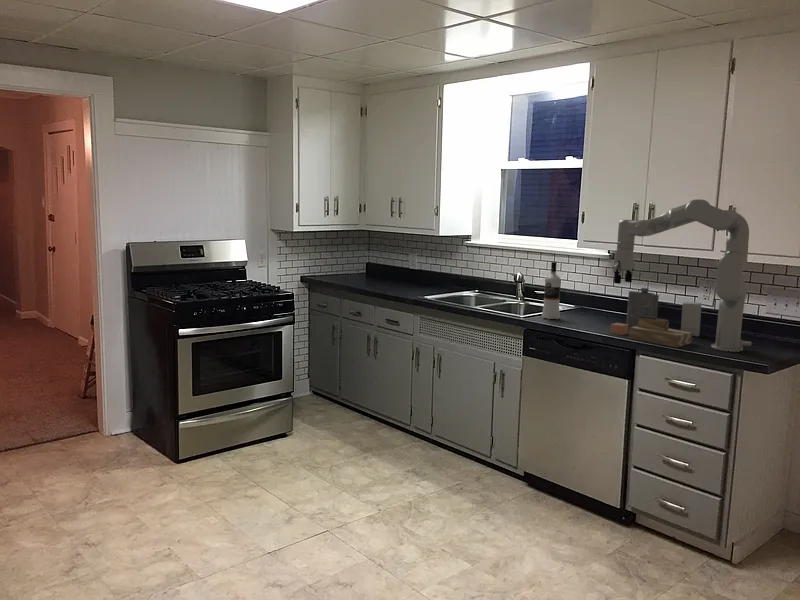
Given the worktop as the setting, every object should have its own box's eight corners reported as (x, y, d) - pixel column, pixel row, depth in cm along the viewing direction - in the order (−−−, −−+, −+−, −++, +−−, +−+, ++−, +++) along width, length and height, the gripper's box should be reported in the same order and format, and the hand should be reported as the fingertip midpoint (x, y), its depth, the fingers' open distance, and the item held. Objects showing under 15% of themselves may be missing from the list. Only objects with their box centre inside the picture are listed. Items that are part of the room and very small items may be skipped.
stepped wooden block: (643, 334, 323) (645, 314, 321) (691, 343, 306) (693, 322, 304) (628, 338, 313) (630, 317, 312) (676, 347, 297) (678, 325, 295)
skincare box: (699, 334, 326) (702, 302, 324) (698, 337, 321) (701, 304, 318) (680, 332, 330) (683, 300, 328) (679, 335, 324) (682, 302, 322)
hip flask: (624, 325, 345) (627, 286, 342) (629, 324, 348) (632, 285, 345) (653, 330, 333) (656, 290, 330) (658, 330, 335) (661, 289, 332)
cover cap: (616, 331, 329) (616, 322, 328) (627, 333, 325) (628, 324, 324) (610, 333, 325) (610, 324, 324) (621, 335, 320) (622, 326, 320)
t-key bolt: (638, 314, 320) (639, 304, 319) (658, 317, 312) (659, 307, 312) (631, 315, 316) (632, 305, 315) (651, 318, 308) (652, 308, 308)
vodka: (563, 318, 359) (566, 262, 355) (551, 320, 354) (554, 262, 349) (549, 316, 367) (553, 260, 362) (538, 317, 361) (541, 261, 357)
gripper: (627, 245, 327) (625, 280, 329) (608, 246, 315) (605, 283, 318) (642, 246, 321) (639, 282, 324) (623, 247, 310) (620, 284, 312)
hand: (622, 282), depth 321 cm, fingers open, 9 cm apart
